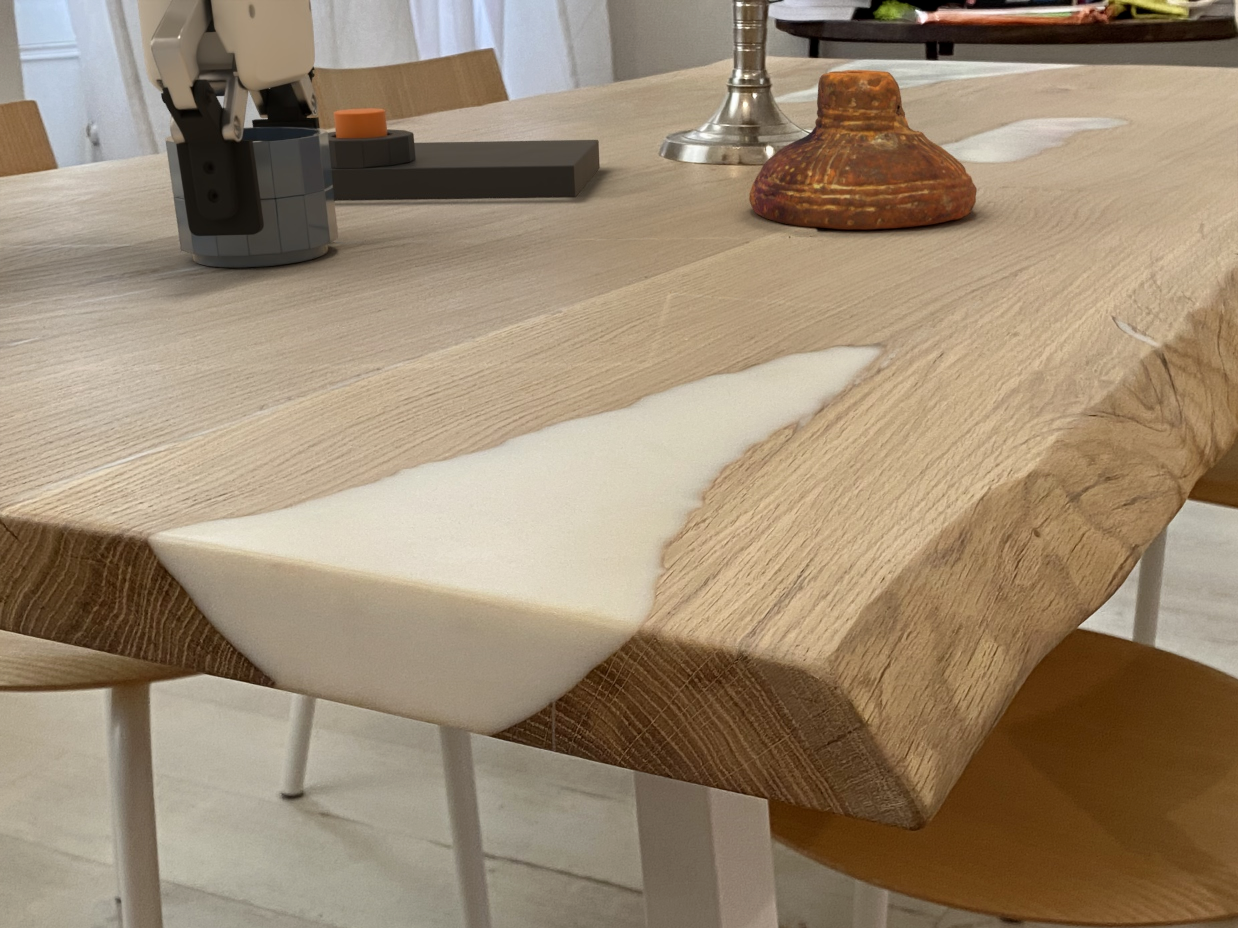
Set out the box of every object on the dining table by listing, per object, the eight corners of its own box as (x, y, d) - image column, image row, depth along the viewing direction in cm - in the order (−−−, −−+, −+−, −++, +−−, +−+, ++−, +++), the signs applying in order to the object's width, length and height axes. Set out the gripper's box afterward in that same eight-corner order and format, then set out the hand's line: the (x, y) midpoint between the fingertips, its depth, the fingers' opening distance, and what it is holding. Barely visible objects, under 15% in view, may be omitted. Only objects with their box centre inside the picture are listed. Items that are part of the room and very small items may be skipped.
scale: (303, 202, 85) (296, 141, 83) (362, 172, 97) (356, 118, 95) (575, 198, 83) (572, 136, 82) (599, 169, 96) (597, 114, 94)
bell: (795, 192, 84) (796, 61, 81) (1001, 202, 79) (1009, 63, 76) (711, 224, 74) (709, 76, 71) (940, 238, 69) (946, 79, 66)
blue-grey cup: (158, 270, 66) (139, 145, 64) (214, 242, 72) (199, 127, 71) (313, 269, 65) (299, 142, 63) (355, 240, 72) (344, 125, 70)
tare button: (330, 144, 85) (327, 113, 84) (344, 138, 88) (341, 108, 87) (380, 143, 85) (378, 112, 84) (393, 137, 87) (390, 108, 87)
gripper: (199, -163, 71) (247, 191, 77) (30, -201, 54) (108, 252, 60) (350, -170, 70) (387, 187, 76) (224, -210, 54) (284, 247, 60)
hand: (263, 216), depth 68 cm, fingers open, 9 cm apart
